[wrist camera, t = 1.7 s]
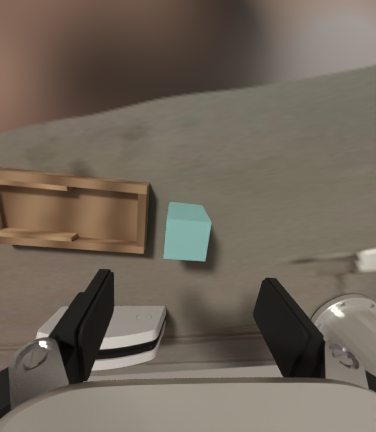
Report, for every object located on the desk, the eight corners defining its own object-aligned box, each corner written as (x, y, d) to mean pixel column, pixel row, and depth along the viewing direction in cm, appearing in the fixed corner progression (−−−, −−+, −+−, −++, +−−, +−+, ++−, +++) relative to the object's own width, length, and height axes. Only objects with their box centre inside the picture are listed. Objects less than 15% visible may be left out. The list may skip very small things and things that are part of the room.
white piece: (65, 330, 30) (10, 384, 20) (66, 301, 30) (13, 341, 20) (166, 329, 31) (162, 379, 21) (167, 301, 31) (163, 338, 21)
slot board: (149, 183, 23) (146, 185, 21) (146, 245, 26) (143, 253, 24) (-11, 166, 22) (-33, 167, 19) (4, 234, 24) (-14, 242, 22)
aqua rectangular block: (202, 205, 25) (211, 222, 18) (197, 235, 26) (205, 261, 20) (169, 201, 24) (166, 218, 18) (166, 232, 26) (163, 258, 19)
